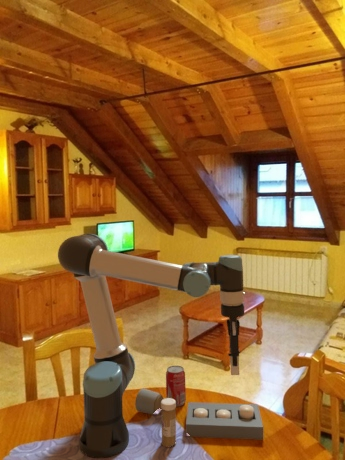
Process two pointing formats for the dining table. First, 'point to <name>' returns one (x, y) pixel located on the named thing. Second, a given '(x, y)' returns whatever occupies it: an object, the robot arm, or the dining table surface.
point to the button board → (223, 422)
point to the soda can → (176, 384)
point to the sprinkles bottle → (168, 422)
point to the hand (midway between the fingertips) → (235, 374)
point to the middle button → (223, 414)
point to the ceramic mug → (148, 401)
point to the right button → (246, 412)
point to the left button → (201, 413)
